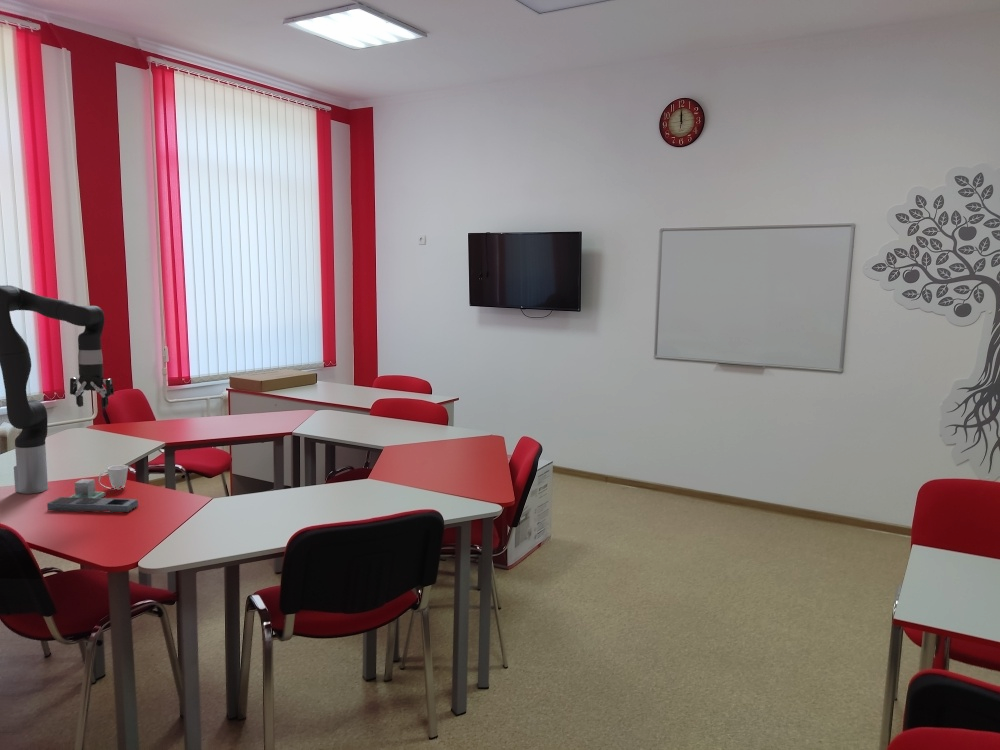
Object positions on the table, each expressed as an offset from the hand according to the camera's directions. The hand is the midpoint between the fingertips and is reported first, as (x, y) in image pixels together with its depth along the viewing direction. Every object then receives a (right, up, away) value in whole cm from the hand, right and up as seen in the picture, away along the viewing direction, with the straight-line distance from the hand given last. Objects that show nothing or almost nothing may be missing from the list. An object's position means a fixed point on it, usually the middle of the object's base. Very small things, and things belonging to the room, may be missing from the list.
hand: (92, 406), depth 249 cm
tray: (-2, -33, -1) cm, 33 cm away
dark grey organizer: (+5, -35, -9) cm, 36 cm away
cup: (+1, -32, +13) cm, 34 cm away
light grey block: (-2, -33, -1) cm, 33 cm away
